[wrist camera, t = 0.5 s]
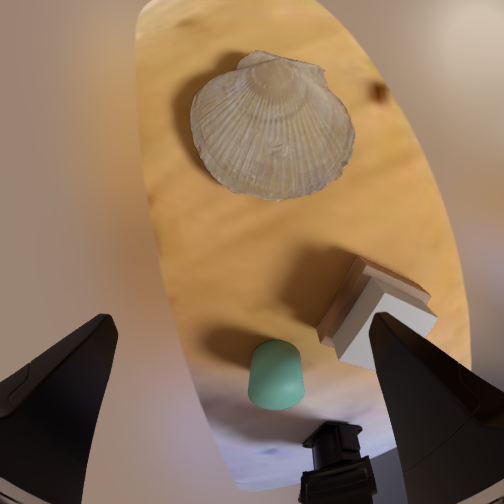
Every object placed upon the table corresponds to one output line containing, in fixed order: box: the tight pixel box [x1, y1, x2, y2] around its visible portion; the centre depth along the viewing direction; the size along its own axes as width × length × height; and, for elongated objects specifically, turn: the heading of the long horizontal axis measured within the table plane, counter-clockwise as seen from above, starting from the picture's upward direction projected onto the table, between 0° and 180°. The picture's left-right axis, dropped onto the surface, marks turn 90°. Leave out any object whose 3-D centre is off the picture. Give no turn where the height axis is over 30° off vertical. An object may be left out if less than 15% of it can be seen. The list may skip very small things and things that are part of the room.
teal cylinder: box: [248, 340, 305, 410], centre depth 24 cm, size 5×5×5 cm
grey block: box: [332, 276, 438, 371], centre depth 20 cm, size 6×6×3 cm
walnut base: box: [316, 255, 431, 348], centre depth 23 cm, size 8×8×3 cm
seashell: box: [190, 50, 355, 202], centre depth 19 cm, size 12×12×3 cm
